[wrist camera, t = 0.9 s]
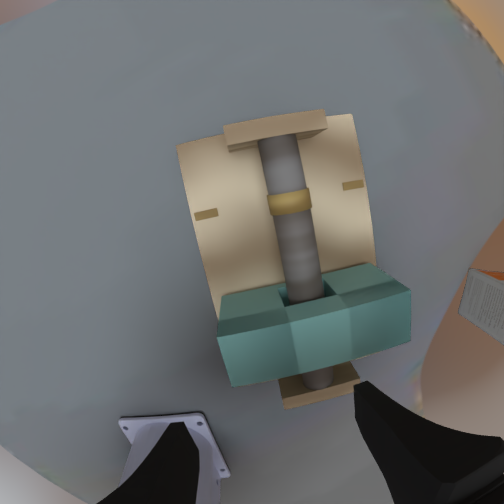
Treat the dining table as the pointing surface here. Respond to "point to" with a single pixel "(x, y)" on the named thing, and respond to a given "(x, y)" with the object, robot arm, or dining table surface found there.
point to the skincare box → (484, 301)
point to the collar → (312, 325)
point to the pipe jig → (281, 217)
